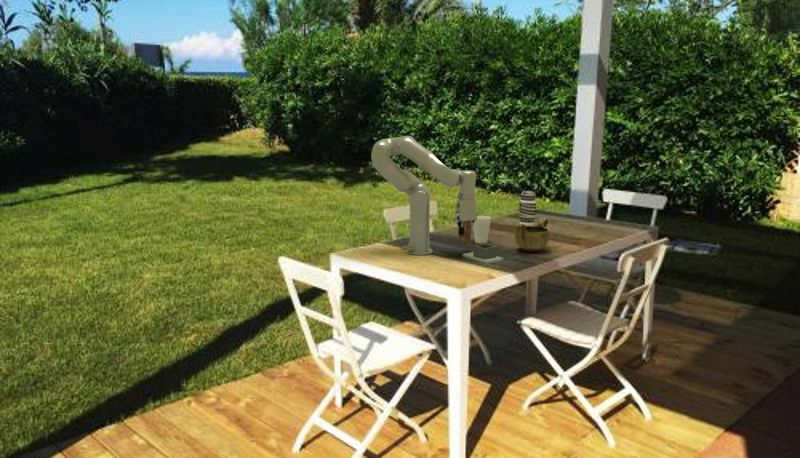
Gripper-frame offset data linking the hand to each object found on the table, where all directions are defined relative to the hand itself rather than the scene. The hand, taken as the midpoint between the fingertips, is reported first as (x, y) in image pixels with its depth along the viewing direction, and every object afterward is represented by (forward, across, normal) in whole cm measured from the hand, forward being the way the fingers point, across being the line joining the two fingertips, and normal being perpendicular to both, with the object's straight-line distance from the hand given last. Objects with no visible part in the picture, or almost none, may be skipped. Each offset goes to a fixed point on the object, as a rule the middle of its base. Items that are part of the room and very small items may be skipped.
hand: (464, 234), depth 319 cm
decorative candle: (+9, +51, +8) cm, 52 cm away
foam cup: (+10, +24, +14) cm, 29 cm away
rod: (+5, 0, 0) cm, 5 cm away
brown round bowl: (+9, +32, -14) cm, 36 cm away
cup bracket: (+9, +1, -13) cm, 16 cm away
